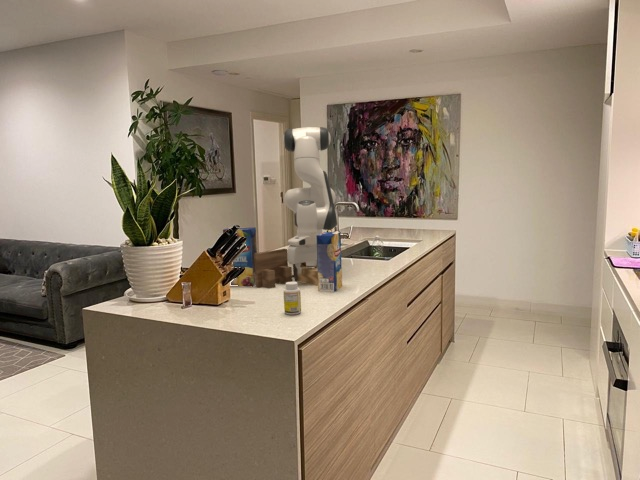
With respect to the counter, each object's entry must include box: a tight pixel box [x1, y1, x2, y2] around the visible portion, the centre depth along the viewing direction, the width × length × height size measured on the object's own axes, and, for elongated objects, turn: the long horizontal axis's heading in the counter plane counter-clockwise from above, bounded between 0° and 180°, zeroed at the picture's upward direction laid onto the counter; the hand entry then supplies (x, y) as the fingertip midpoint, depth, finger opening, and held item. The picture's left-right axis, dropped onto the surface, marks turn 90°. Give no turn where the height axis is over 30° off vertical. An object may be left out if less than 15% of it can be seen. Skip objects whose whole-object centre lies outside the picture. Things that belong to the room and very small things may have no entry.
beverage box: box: [316, 231, 343, 293], centre depth 196 cm, size 7×11×22 cm, turn 164°
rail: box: [294, 265, 318, 286], centre depth 209 cm, size 16×4×6 cm, turn 43°
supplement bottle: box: [283, 281, 302, 316], centre depth 163 cm, size 6×6×10 cm
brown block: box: [254, 248, 293, 289], centre depth 206 cm, size 7×16×14 cm, turn 133°
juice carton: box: [222, 226, 258, 288], centre depth 208 cm, size 12×8×24 cm, turn 80°
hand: (308, 271), depth 208 cm, fingers open, 8 cm apart
